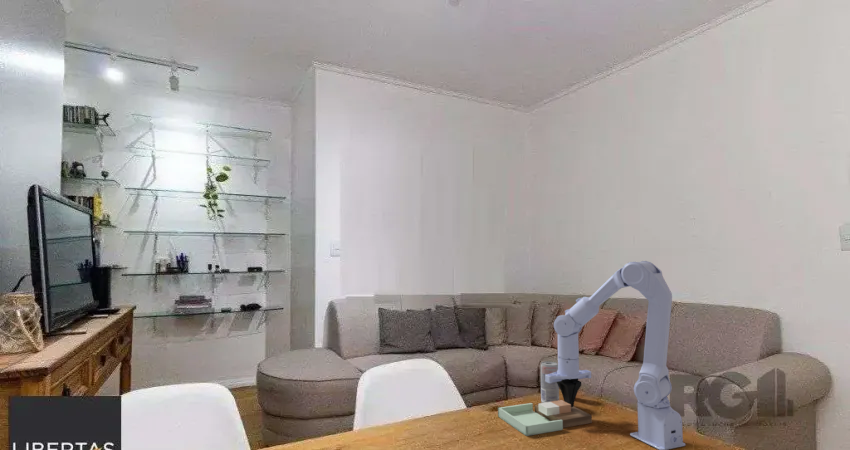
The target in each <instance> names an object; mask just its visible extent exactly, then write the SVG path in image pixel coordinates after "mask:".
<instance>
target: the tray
mask: <svg viewBox="0 0 850 450" xmlns="http://www.w3.org/2000/svg"><path fill="white" fill-rule="evenodd" d="M533 406H534V403H532V402H529V403H528V402H527V403H520V404H515V405H508V406H503V407H502V406H501V407H497V417H498V418H499V419H501V420H502V421H504V422H506V424H508V425H509V426H511V427H512V428H514V429H515V430H517V431H518V432H519V433H521V434H523V436H525V437H528V436H534V435H539V434H547V433H552V432H557V431H563V430H564V428H563V420H555V421H550V420H548V419H546V418H545V417H543V416H541V415H539V414H538V413H536V412H535V410H534V407H533Z"/></svg>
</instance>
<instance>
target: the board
mask: <svg viewBox="0 0 850 450" xmlns="http://www.w3.org/2000/svg"><path fill="white" fill-rule="evenodd" d="M534 412H536V413H538V414H539V415H541V416H543V417H545V418H546V419H548V420H550V421H555V420H563V429H564V428H569V427H575V426H581V425H587V424H592V423H593V420H592V419H593V418H592V416H593V415H592V414H590V413H588V412H587V411H584V410H582V409H580V408H577V407H576V406H573V407H571V412H567V413H561V414H556V415H549V416H547V415H545V414H543V413H541V412H540V411H539V409H538V404H535V405H534Z"/></svg>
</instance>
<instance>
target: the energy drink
mask: <svg viewBox="0 0 850 450" xmlns="http://www.w3.org/2000/svg"><path fill="white" fill-rule="evenodd" d="M557 370H558V362H555V361H548V360H547V361H541V362H540V401H541V402H540V403H545V402H551V401H558V400H560V388H559V386H558V384H557V382H552V383H547V382H545V375H547V374H551V373H554V372H557Z"/></svg>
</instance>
